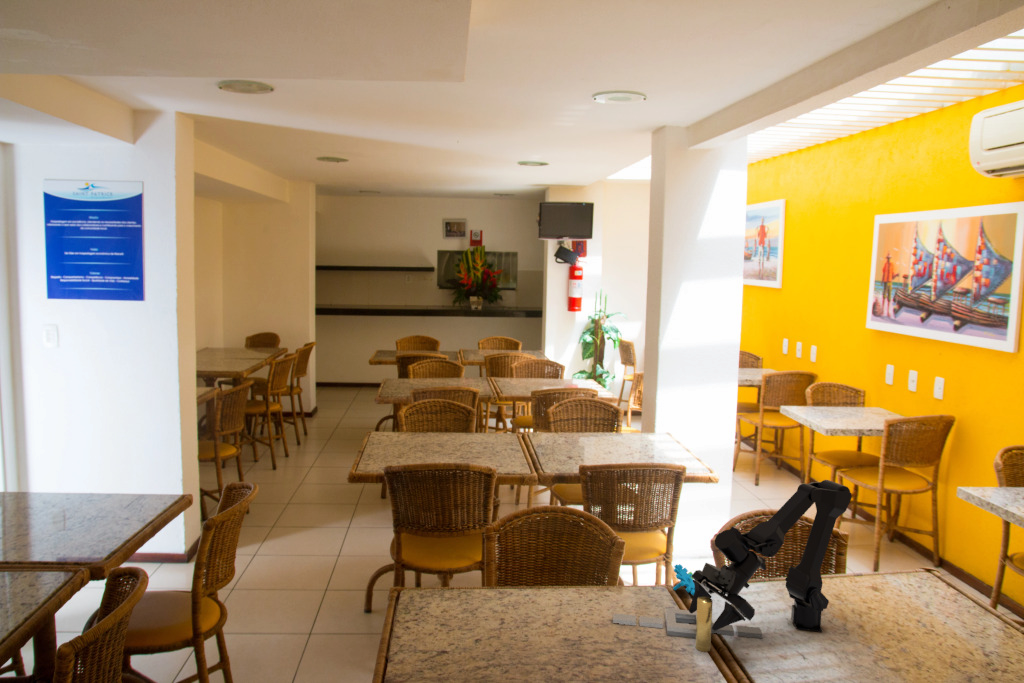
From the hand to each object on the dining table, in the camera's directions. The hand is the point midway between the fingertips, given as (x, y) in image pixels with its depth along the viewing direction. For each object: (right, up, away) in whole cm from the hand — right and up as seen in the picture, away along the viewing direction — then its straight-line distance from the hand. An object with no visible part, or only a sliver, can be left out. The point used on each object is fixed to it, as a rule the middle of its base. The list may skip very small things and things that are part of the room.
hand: (701, 620), depth 174 cm
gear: (+4, -4, +32) cm, 33 cm away
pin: (+1, -7, +1) cm, 7 cm away
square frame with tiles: (-1, -6, +11) cm, 13 cm away
